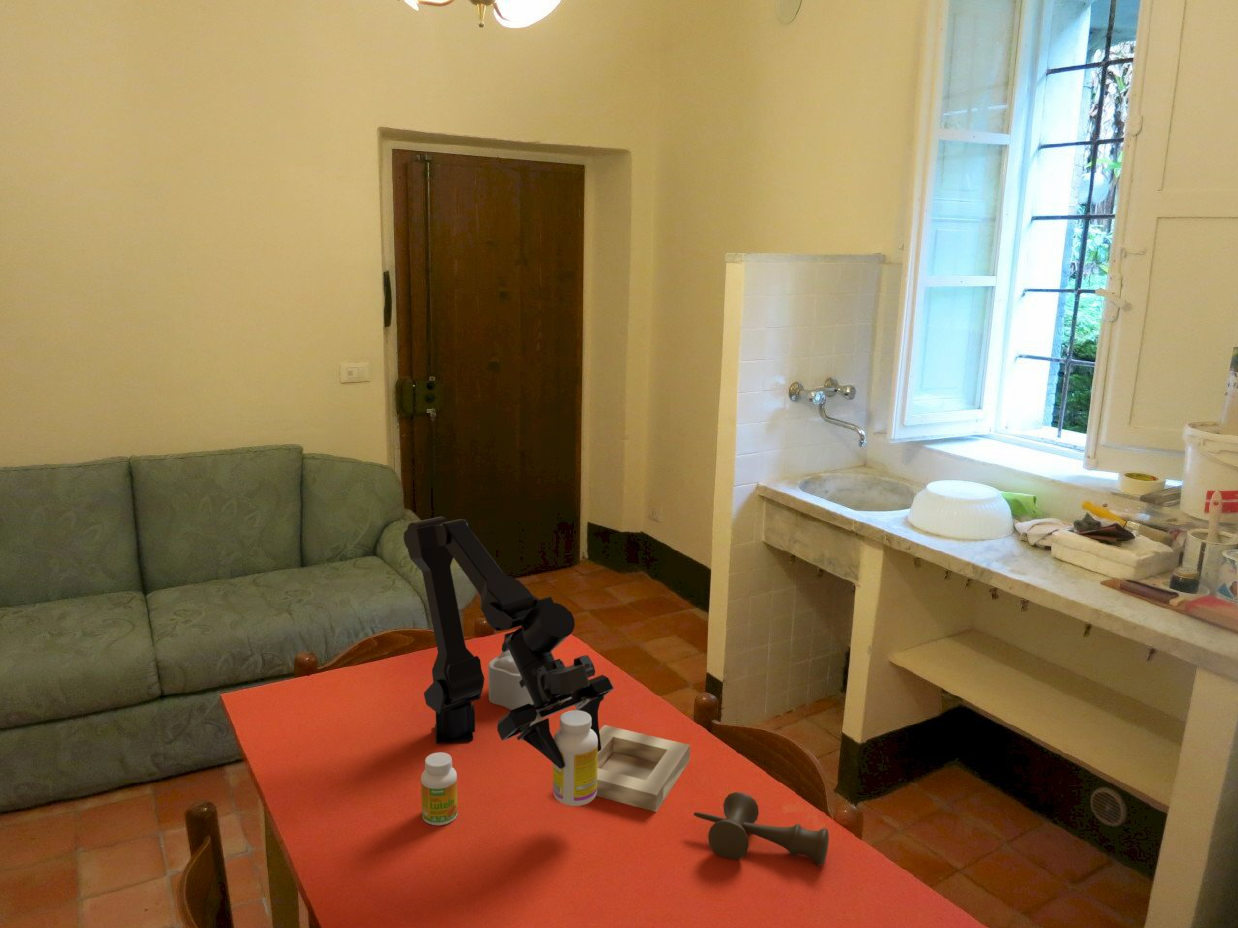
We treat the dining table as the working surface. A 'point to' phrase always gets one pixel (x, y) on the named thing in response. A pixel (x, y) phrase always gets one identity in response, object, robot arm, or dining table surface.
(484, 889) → the dining table surface
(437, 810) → the supplement bottle
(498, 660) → the lumpy-topped squat cylinder
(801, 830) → the kendama
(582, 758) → the supplement bottle
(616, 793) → the birch well block
